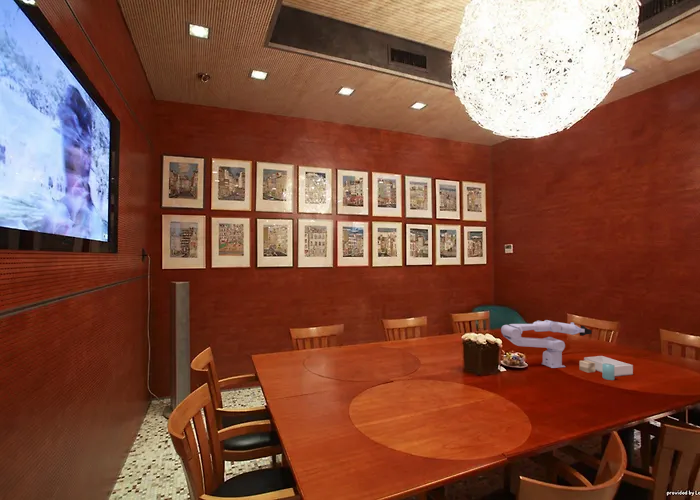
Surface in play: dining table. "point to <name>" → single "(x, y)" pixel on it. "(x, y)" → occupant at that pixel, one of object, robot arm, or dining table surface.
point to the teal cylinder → (608, 371)
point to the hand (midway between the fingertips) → (585, 331)
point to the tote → (619, 366)
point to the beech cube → (587, 366)
